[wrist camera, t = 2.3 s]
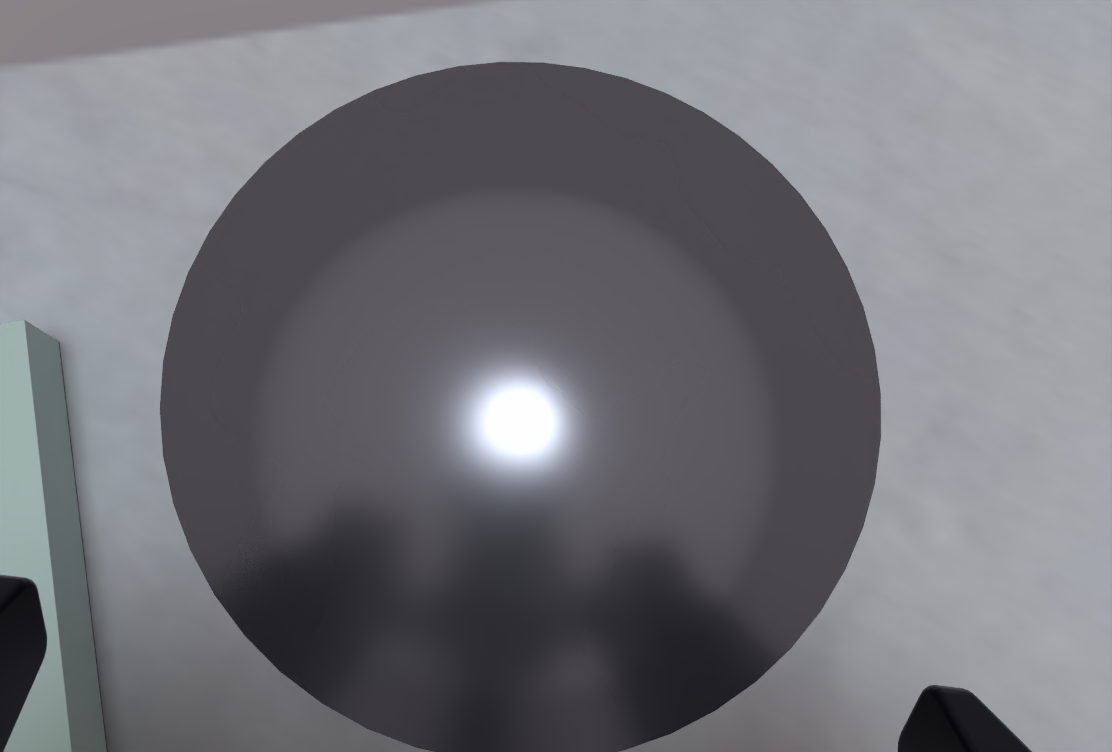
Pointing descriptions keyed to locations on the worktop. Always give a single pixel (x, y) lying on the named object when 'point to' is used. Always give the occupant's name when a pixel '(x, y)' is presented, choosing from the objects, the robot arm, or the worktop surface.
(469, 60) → the worktop surface
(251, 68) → the worktop surface
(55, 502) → the sage board
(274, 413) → the grey translucent cylinder
